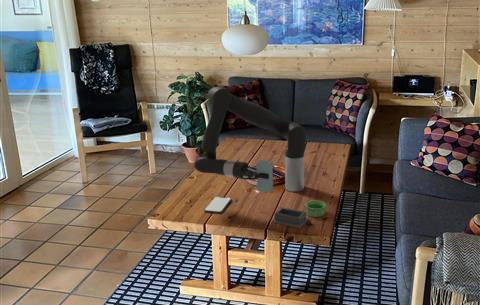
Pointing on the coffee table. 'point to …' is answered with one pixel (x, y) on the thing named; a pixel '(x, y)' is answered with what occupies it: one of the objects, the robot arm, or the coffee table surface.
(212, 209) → the phone case
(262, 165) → the tall teal prism
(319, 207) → the ramekin
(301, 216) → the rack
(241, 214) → the coffee table surface
